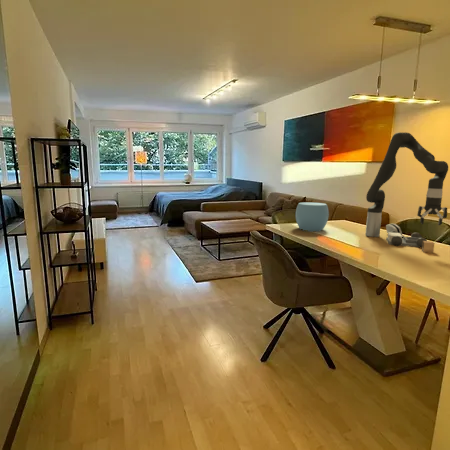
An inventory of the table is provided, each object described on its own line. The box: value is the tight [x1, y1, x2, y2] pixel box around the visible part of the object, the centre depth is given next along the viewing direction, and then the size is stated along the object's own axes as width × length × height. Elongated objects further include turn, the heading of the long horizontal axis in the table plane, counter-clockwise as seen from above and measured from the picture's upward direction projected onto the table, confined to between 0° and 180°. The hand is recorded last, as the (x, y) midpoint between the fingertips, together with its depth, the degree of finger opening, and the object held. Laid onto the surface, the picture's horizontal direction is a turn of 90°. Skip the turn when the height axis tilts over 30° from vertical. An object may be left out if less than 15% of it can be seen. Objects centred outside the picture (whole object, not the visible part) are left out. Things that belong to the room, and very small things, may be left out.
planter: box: [295, 201, 330, 232], centre depth 255 cm, size 25×25×20 cm
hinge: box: [385, 223, 406, 237], centre depth 236 cm, size 17×5×10 cm, turn 178°
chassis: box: [385, 231, 428, 249], centre depth 212 cm, size 22×20×6 cm
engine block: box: [421, 240, 435, 254], centre depth 191 cm, size 5×5×6 cm
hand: (430, 224), depth 188 cm, fingers open, 8 cm apart
